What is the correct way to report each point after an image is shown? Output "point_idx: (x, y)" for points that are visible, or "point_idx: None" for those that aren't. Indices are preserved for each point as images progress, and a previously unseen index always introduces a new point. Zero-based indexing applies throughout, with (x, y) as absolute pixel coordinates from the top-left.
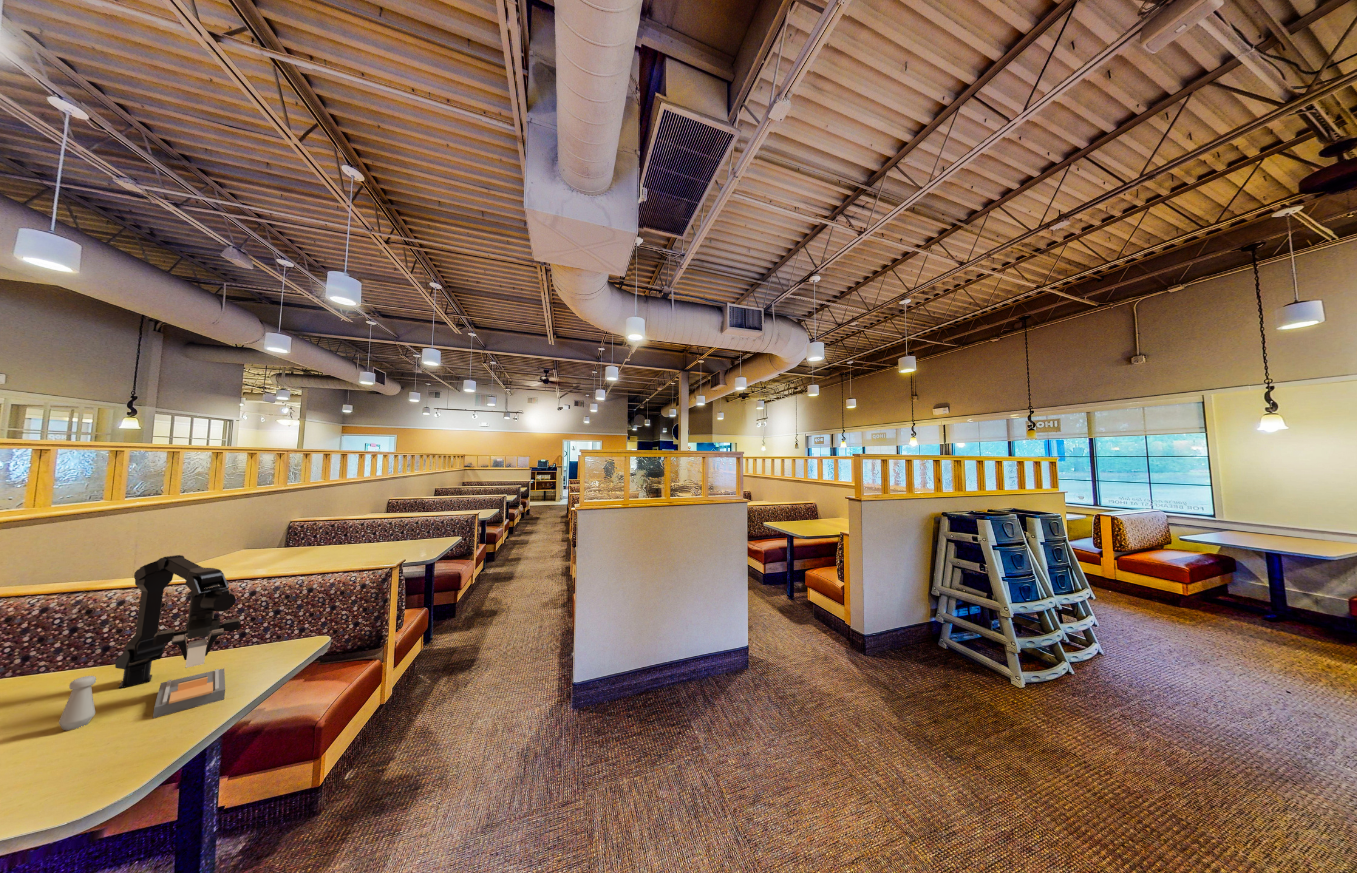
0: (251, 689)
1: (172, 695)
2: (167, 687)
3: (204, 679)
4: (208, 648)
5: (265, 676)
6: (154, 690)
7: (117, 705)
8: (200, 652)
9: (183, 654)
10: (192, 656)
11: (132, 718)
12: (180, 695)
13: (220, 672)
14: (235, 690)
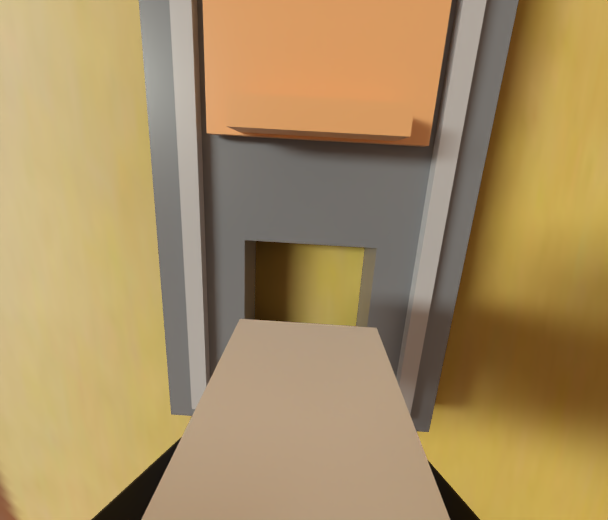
0: (41, 11)
1: (434, 30)
2: (425, 291)
3: (248, 96)
4: (148, 495)
5: (3, 207)
6: (422, 439)
7: (549, 366)
8: (253, 429)
9: (456, 500)
10: (344, 400)
11: (551, 89)
12: None
13: (184, 355)
14: (124, 87)
